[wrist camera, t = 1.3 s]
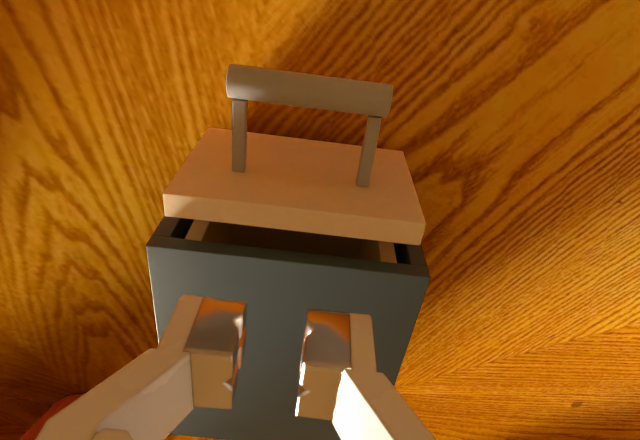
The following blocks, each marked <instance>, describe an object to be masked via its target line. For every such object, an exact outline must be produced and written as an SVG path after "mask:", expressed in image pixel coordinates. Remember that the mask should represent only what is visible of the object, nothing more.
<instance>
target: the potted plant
mask: <svg viewBox="0 0 640 440" xmlns="http://www.w3.org/2000/svg"><path fill="white" fill-rule="evenodd" d="M82 395H84V394H76V395H69V396H66V397H64V398H61V399H59V400H57V401H56V402H55V403H54V404H53V405H52V406H51V407H50V409H49V410H48V411H47V412H46V413H45V414H44V415H43V416H42V417H41V418H40V419H39V420H38V421H37V422H36V423H35V424H34V425H33V426H32V427H31V428H30V429H29V430H28V431H27V432H26V433H25V434H24V435H23V436H22V437H21V438H20V439H19V440H35V439H36V438H37V436H38V434H39V433H40V431H41V430H42V428H43V426H44V425H45V423H46V421H47V420H48V419H50V418H51V417H52V416H54V415H55V414H57V413H58V412H60V411H61V410H62V409H64V408H65V407H67V406H68V405H70V404H71V403H72V402H74V401H75V400H77V399H78V398H80V397H81V396H82Z"/></svg>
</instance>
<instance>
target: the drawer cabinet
mask: <svg viewBox="0 0 640 440" xmlns="http://www.w3.org/2000/svg"><path fill="white" fill-rule="evenodd" d="M193 221H194V219H186V218H177V217H169V216H164V218H163V219H162V221H161V222H160V224H159V226H158V227H157V229H156V230H155V232H154V234H153V236H152V237H151V238H150V240H149V241H148V243H147V244H146V251H147V258H148V266H149V274H150V282H151V289H152V297H153V305H154V313H155V321H156V328H157V336H158V344H159V342H160V340H161V338H162V336H163V333H164V331H165V329H166V327H167V324H168V322H169V320H170V318H171V316H172V313H173V311H174V309H175V307H176V304H177V302H178V300H179V298H180V297H181V296H182V295H183V294H187V295H194V296H202V297H213V298H220V299H227V300H235V301H242V302H247V304H248V305H247V318H246V322H245V326H246V327H247V335H246V345H245V351H244V357H243V361H242V366H241V368H239V369H238V384H237V388H236V392H235V397H234V401H233V405H232V409H220V408H207V407H193V410H192V411H191V412H190V413H189V414H188V415H187V416H186V417H185V418H184V419H183V420H182V421H181V422H180V424H179V425H178V426H177V427H176V428H175V429H174V430H173V431H172V432H171V433H170V434H173V435H183V436H193V437H204V438H214V439H224V440H341V439H340V437H339V435H338V433H337V431H336V429H335V427H334V425H333V423H332V421H331V420H323V419H316V418H308V417H300V416H296V404H297V391H298V383H299V376H300V374H299V369H300V358H301V350H302V342H303V334H304V330H305V320H306V313H307V309H317V310H326V311H336V312H346V313H348V314H349V313H357V314H367V315H370V316H371V318H372V328H373V339H374V349H375V359H376V370H377V372H380V373H384V375H385V376H386V377H387V378H388V380H389V381H390V382H391V383H392V385H393V386H394V385H395V382H396V379H397V376H398V373H399V370H400V367H401V364H402V361H403V358H404V355H405V352H406V349H407V346H408V343H409V340H410V337H411V335H412V332H413V329H414V326H415V323H416V320H417V317H418V314H419V311H420V308H421V305H422V302H423V299H424V296H425V293H426V290H427V287H428V284H429V281H430V278H431V277H430V273H429V270H428V267H427V263H426V260H425V256H424V253H423V249H422V245H421V244H420V245H411V244H402V243H394V242H393V244H394V249H395V254H396V260H397V263H390V262H382V261H373V260H364V259H355V258H346V257H338V256H329V255H320V254H311V253H302V252H294V251H285V250H276V249H267V248H259V247H250V246H241V245H232V244H223V243H215V242H206V241H197V240H188V239H185V237H186V235H187V233H188V231H189V229H190V227H191V225H192V223H193Z"/></svg>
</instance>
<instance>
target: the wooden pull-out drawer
mask: <svg viewBox="0 0 640 440" xmlns="http://www.w3.org/2000/svg"><path fill="white" fill-rule="evenodd" d="M226 93H227V96H228V97H229V98H233V100H232V130H227V129H219V128H211V127H208V129H207V130H206V132H205V133H204V135H203V136H202V137H201V139H200V140H199V142H198V143H197V145H196V146H195V147H194V149H193V150H192V152H191V153H190V155H189V156H188V157H187V159H186V160H185V162H184V163H183V165H182V166H181V167H180V169H179V170H178V172H177V173H176V175H175V176H174V177H173V179H172V180H171V182H170V183H169V185H168V186H167V187H166V189H165V190H164V192H163V202H164V213H165V216H169V217H177V218H186V219H194V221H193V223H192V225H191V227H190V229H189V231H188V233H187V235H186V237H185V239H188V240H197V241H206V242H215V243H223V244H232V245H241V246H250V247H259V248H267V249H276V250H285V251H294V252H302V253H311V254H320V255H329V256H338V257H346V258H355V259H364V260H373V261H382V262H390V263H397V260H396V254H395V249H394V244H393V242H394V243H402V244H411V245H420V244H421V240H422V237H423V234H424V230H425V227H426V221H425V218H424V215H423V212H422V209H421V206H420V203H419V199H418V196H417V193H416V190H415V187H414V184H413V181H412V178H411V175H410V171H409V168H408V165H407V162H406V159H405V156H404V153H403V151H397V150H389V149H381V148H376V147H377V142H378V137H379V132H380V127H381V122H382V117H387V116H388V114H389V112H390V108H391V104H392V97H393V86H392V85H391V84H384V83H376V82H369V81H361V80H353V79H345V78H338V77H330V76H322V75H315V74H307V73H299V72H291V71H284V70H276V69H268V68H260V67H253V66H245V65H237V64H230V65H229V67H228V69H227V74H226ZM248 100H251V101H259V102H267V103H275V104H283V105H291V106H299V107H307V108H315V109H323V110H331V111H338V112H346V113H354V114H362V115H368V117H367V122H366V128H365V133H364V139H363V144H362V146H357V145H349V144H341V143H333V142H325V141H316V140H308V139H300V138H292V137H284V136H276V135H268V134H260V133H252V132H247V119H248Z"/></svg>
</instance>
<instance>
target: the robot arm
mask: <svg viewBox="0 0 640 440" xmlns="http://www.w3.org/2000/svg"><path fill="white" fill-rule="evenodd" d="M247 305H248V304H247V302H242V301H235V300H227V299H220V298H213V297H202V296H194V295H187V294H183V295H182V296H181V297H180V298H179V300H178V302H177V304H176V307H175V309H174V311H173V313H172V316H171V318H170V320H169V322H168V324H167V327H166V329H165V331H164V333H163V336H162V338H161V340H160V342H159V344H158V347H157V349H155V348H149V349H148V350H146V351H145V352H144V353H142V354H141V355H139V356H138V357H137V358H135V359H134V360H132V361H131V362H129V363H128V364H127V365H125V366H124V367H122V368H121V369H119V370H118V371H117V372H115V373H114V374H112V375H111V376H109V377H108V378H107V379H105V380H104V381H102V382H101V383H99V384H98V385H97V386H95V387H94V388H92V389H91V390H90V391H88V392H87V393H85V394H84V395H82V396H81V397H80V398H78V399H77V400H75V401H74V402H72V403H71V404H70V405H68V406H67V407H65V408H64V409H62V410H61V411H60V412H58V413H57V414H55V415H54V416H52V417H51V418H50V419H48V420H47V421H46V423H45V425H44V426H43V428H42V430H41V431H40V433H39V434H38V436H37V438H36V439H35V440H164V439H165V438H166V437H167V436H168V435H169V434H170V433H171V432H172V431H173V430H174V429H175V428H176V427H177V426H178V425H179V424H180V422H181V421H182V420H183V419H184V418H185V417H186V416H187V415H188V414H189V413H190V412H191V411H192V410H193V407H207V408H220V409H232V405H233V401H234V397H235V392H236V388H237V384H238V369H239V368H241V366H242V361H243V357H244V351H245V345H246V335H247V327H246V326H245V322H246V318H247ZM299 374H300V376H299V383H298V391H297V404H296V416H300V417H308V418H316V419H323V420H331V421H332V423H333V425H334V427H335V429H336V431H337V433H338V435H339V437H340V439H341V440H436V439H435V437H434V436H433V435H432V434H431V432H430V431H429V430H428V429H427V427H426V426H425V425H424V424H423V422H422V421H421V420H420V419H419V417H418V416H417V415H416V414H415V412H414V411H413V410H412V409H411V407H410V406H409V405H408V403H407V402H406V401H405V400H404V398H403V397H402V396H401V395H400V393H399V392H398V391H397V390H396V388H395V387H394V386H393V385H392V383H391V382H390V381H389V380H388V378H387V377H386V376H385V375H384V373H380V372H377V370H376V359H375V349H374V339H373V328H372V318H371V316H370V315H367V314H357V313H349V314H348V313H346V312H336V311H326V310H317V309H307V313H306V320H305V330H304V334H303V342H302V350H301V358H300V369H299Z"/></svg>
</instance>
